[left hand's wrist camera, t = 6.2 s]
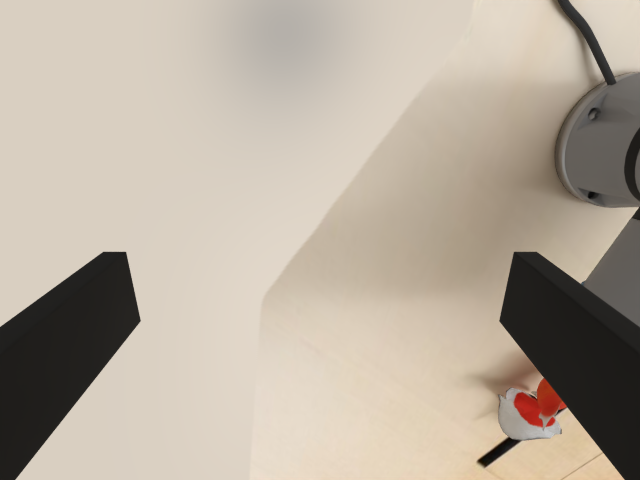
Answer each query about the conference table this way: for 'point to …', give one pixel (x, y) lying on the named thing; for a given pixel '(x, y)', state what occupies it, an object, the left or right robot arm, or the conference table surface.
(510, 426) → the fish
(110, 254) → the left robot arm
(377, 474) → the conference table surface
